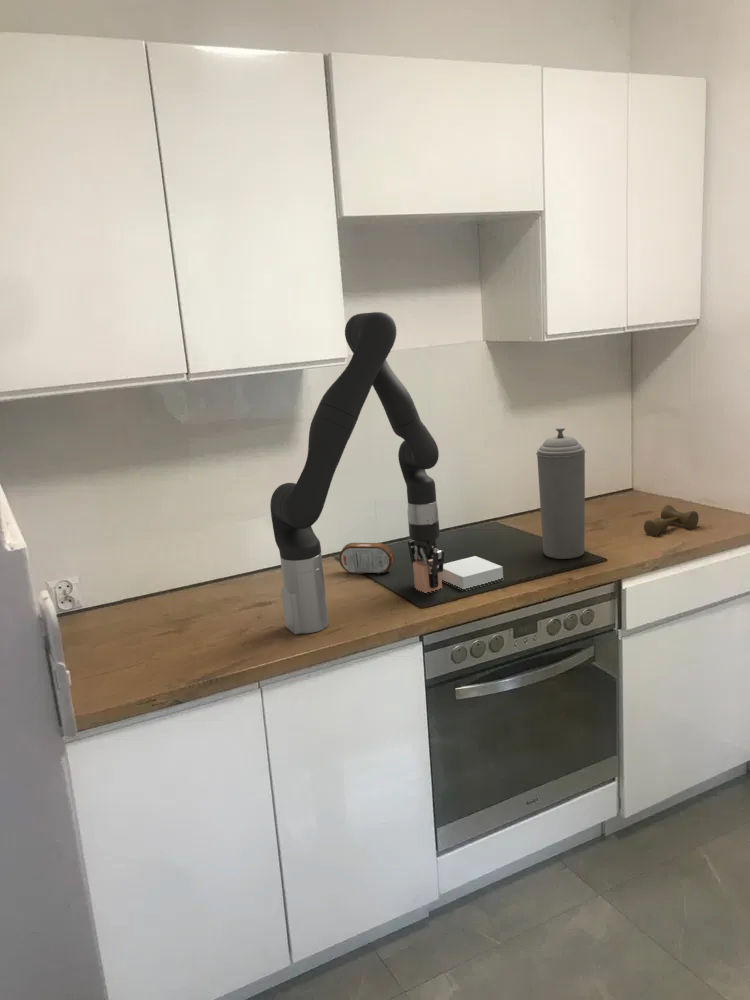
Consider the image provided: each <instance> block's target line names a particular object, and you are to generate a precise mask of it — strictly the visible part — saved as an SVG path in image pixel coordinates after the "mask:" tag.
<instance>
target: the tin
mask: <svg viewBox="0 0 750 1000" xmlns="http://www.w3.org/2000/svg"><path fill="white" fill-rule="evenodd" d="M338 559H339V564H340V566H341V568H342V569H343V570H344V571H346V572H347V573H349V574H355V575H361V574H362V575H365V574H364V573H368V572H369V573H371V572H372V573H373V572H374V573H383V574H385V573H388V572H389V570H390V569H391V568H392V567H393V565H394V562H395V555H394V553H393V550H392V549H391V548H390V547H389V546H388V545H386V544H384V543H382V542H350V543H347V544H345V546H343V548H342V549H341V551H340V553H339V556H338Z"/></svg>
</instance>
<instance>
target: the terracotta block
mask: <svg viewBox="0 0 750 1000" xmlns="http://www.w3.org/2000/svg"><path fill="white" fill-rule="evenodd" d="M428 561H433V559H431V560H428ZM432 565H433V564H431V568H432ZM438 567H439V565H438ZM412 568H413V580H414V589H415V588H416V589H415V590H417V589H418V590H417V591H419V590H420V591H419V592H421V591H422V592H424V593H427V592H430V593H432V592H431V591H434V592H436V591H435V590H438V589H440V588H442V589H443V581H442V578H441V572H439V573H438V587H436V588H430V585H429V572H428V566H426V565H425V563H424V560H422V561H419V562H417V561H416V562H413V564H412ZM438 591H439V590H438ZM422 592H421V593H422ZM424 593H423V594H424ZM427 594H428V593H427Z"/></svg>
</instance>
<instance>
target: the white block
mask: <svg viewBox="0 0 750 1000" xmlns="http://www.w3.org/2000/svg"><path fill="white" fill-rule="evenodd" d="M503 569H504V567H503V566H502V565H499V564H496V563H494V562H491V561H490V560H487V559H484V558H482V557H479V556H476V555H473V556H470V557H466V558H461V559H457V560H455V561H454V560H453V561H450V562H447V563H445V562H444V564H443V572H441V578H442V580H444V581H446V582H449V583H451V584H453V585H456V586H458V587H460V588H462V589H466V588H470V587H473V586H477V585H481V584H485V583H488V582H491V581H495V580H498V579H501V578H503V579H504V574H503V573H504V570H503ZM444 581H443V582H444ZM446 582H445V583H446Z"/></svg>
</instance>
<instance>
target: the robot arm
mask: <svg viewBox="0 0 750 1000" xmlns="http://www.w3.org/2000/svg"><path fill="white" fill-rule="evenodd" d="M395 322H396V321H395V320H394V319H393V317H392V316H391V315H390V314H388V313H385V312H380V311H375V312H373V311H372V312H363V313H356V314H354V315H352V316H351V317H350V318H349V319H348V320H347V323H346V324H345V327H344V336H345V341H346V344H347V345H348V346H349V349H350V350H351V352H352V356H351V359H350V361H349V363H348V364H347V366H346V367H345V369H344V370H343V371H342V373H340V375H339V377H337V378H336V379H335V381H334V382H333V383H332V384H331V385H330V386H329V387H328V389H327V390H326V391H325V393H324V394H323V396H322V397H321V399H320V402H319V404H318V405H317V408H316V411H315V413H314V414H313V417H312V420H311V423H310V427H309V433H308V441H307V442H308V444H307V445H308V446H307V456H306V460H305V464H304V466H303V469H302V471H301V473H300V476H299V477H298V479H297V481H296V483H294V482H286V483H283V484H280V485H278V487H276V489H274V491H273V493H272V495H271V498H270V504H269V505H270V508H269V509H270V516H271V523H272V530H273V537H274V541H275V543H276V547H277V549H278V551H279V557H280V558H279V559H280V567H281V575H282V582H283V583H282V585H283V587H281V589H280V591H281V598H282V600H281V601H282V609H283V610H282V611H283V617H284V625H285V627H286V629H288V630H289V631H290V632H291V633H293V634H294V636H295V635H299V634H311V633H316V632H320V631H322V630H324V629H326V628H327V627H328V626H329V612H328V603H327V595H326V584H325V576H324V567H323V558H322V556H323V555H322V547H321V541H320V540H319V538H318V537H317V535H316V534H315V532H314V530H313V527H312V526H313V525H314V524H315V523H316V522H317V521H318V519H319V518H320V516H321V514H322V512H323V509H324V508H325V503H326V500H327V496H328V494H329V490H330V486H331V485H332V482H333V477H334V475H335V473H336V470H337V467H338V465H339V464H340V461H341V458H342V456H343V453H344V452H345V448H346V447H347V444H348V441H349V440H350V438H351V436H352V433H353V432H354V429H355V426H356V424H357V421H358V420H359V417H360V414H361V412H362V409H363V407H364V404H365V403H366V400H367V398H368V395H369V393H370V391H371V388H372V387H373V389H374V391H375V393H376V394H377V397H378V399H379V400H380V402H381V405H382V407H383V410H384V412H385V414H386V416H387V419H388V422H389V424H390V426H391V428H392V431H393V432H394V434H395V435H396V436H398V437H399V438H402V439H403V441H402V442H401V444H400V445H399V448H398V452H397V453H398V455H397V456H398V463H399V467H400V470H401V474H402V476H403V479H404V480H403V481H404V482H405V485H406V497H407V521H408V534H409V535H408V536H409V539H410V540H408V541H407V546H408V551H409V557H410V561H411V564H412V565H413V562H416V561H417V562H419V561H422V560H424V563H425V565H426V566H428V572H429V585H430V588H436V587H438V573H439V572H443V564H445V551H444V550H443V549H441V550H439V549H438V545H437V542H436V540H437V539H438V538H439V537H440V536H441V535H440V534H441V533H440V521H439V520H440V517H439V507H438V503H437V490H436V482H435V479H433V478H432V477H431V476H430V475H428V474H427V472H426V470H431V469H433V468H434V467H435V466H436V465H437V463H438V461H439V457H440V455H439V454H440V452H439V448H438V444H437V442H436V441H435V439H434V437H433V436H432V434H431V433H430V431H429V430H428V428H427V426H425V424H424V422H422V420H421V418H420V417H421V416H420V415H419V413H418V410H417V407H416V405H415V402H414V399H413V398H412V396H411V394H410V393H409V391H408V389H407V388H406V387H405V385H404V384H403V382H402V381H401V380H400V379H399V377H398V376H397V375H396V373H395V372H394V371H393V370H392V368H391V366H390V365H389V362H388V361H387V358H388V356H389V355H390V352H391V350H392V349H393V347H394V345H395V341H396V338H397V326H396V325H397V324H396V323H395ZM431 559H433V561H428V560H431ZM431 564H433V565H432V568H431ZM438 565H439V567H438Z"/></svg>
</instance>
